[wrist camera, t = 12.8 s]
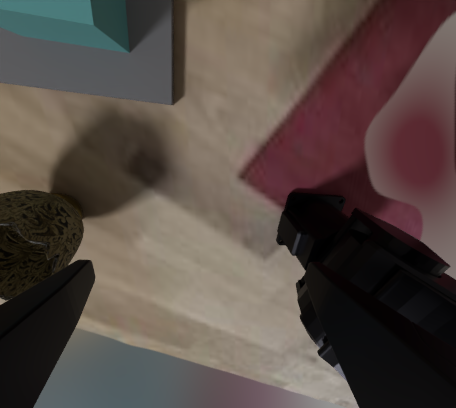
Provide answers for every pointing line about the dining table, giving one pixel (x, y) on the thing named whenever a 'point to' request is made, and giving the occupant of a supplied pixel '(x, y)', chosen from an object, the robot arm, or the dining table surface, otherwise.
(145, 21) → the post stand
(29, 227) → the cup
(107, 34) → the teal block with hole
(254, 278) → the dining table surface
